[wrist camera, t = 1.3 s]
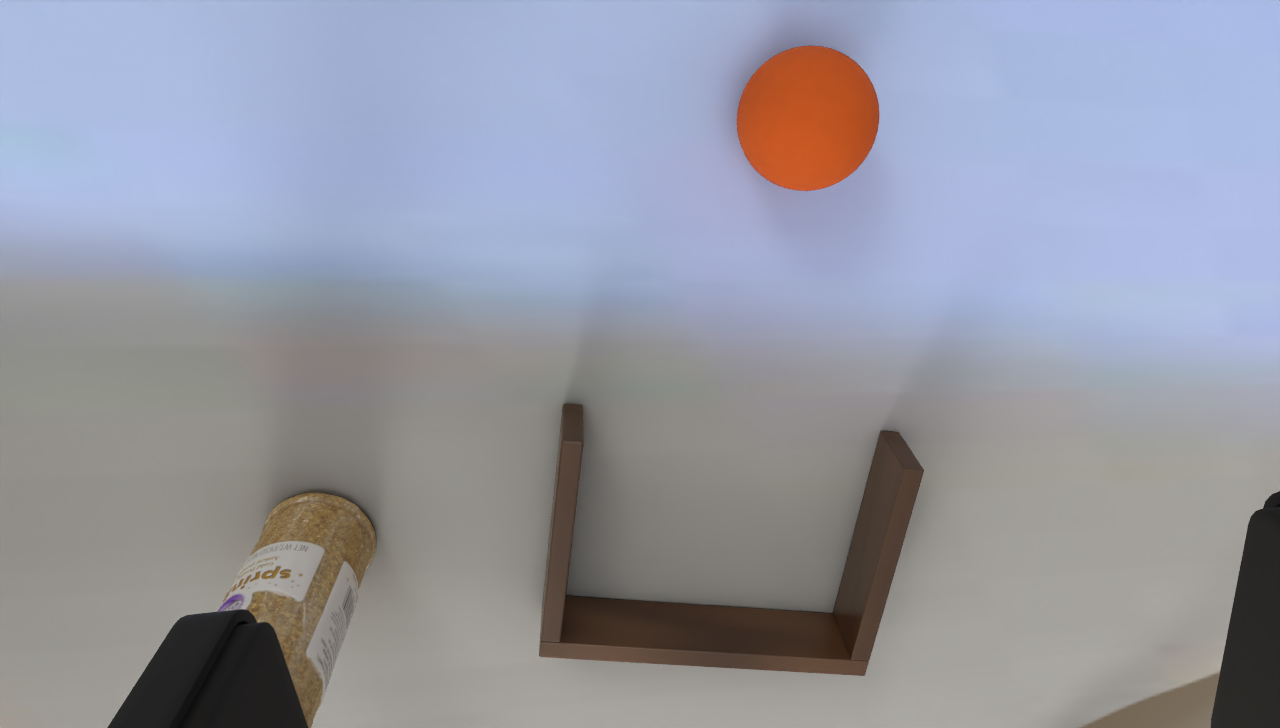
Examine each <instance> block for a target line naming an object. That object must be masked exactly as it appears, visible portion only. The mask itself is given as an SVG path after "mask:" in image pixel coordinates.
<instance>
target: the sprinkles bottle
mask: <svg viewBox="0 0 1280 728" xmlns="http://www.w3.org/2000/svg"><path fill="white" fill-rule="evenodd" d="M375 550H376V536H375V531H374V529H373V526H372V524H371V522H370V521H369V519H368V518H367V517H366V516H365V514H364V513H363V512H362V511H361V510H360V509H359V508H358V507H357V506H356V505H355V504H354V503H352V502H349V501H347V500H346V499H344V498H342V497H339V496H334V495H328V494H325V493H312V492H310V493H304V494H299V495H297V496H295V497H291V498H288V499H287V500H285V501H283V502H281V503H280V504H278V505H277V506H276V507H274V508H273V510H272V511H271V513H270V514H269V516H268V517H267V519H266V521H265V524H264V527H263V532H262V534H261V536H260V539H259V541H258V542H257V544H256V545H255V547H254V549H253V551H252V553H251V555H250V557H249V558H248V559H247V560H246V562H245V563H244V564H243V566H242V567H241V569H240V571H239V573H238V575H237V576H236V578H235V580H234V582H233V584H232V586H231V588H230V589H229V591H228V593H227V595H226V596H225V598H224V600H223V602H222V604H221V606H220V608H219V609H218V611H217V612H220V611H229V610H238V609H245V610H249V611H250V612H251V613H252V614H253V615H254V617H255V619H256V621H257V623H260V622H267V623H270V625H271V626H272V627H273V628H274V630H275V632H276V634H277V637H278V640H279V643H280V646H281V649H282V652H283V655H284V658H285V661H286V664H287V667H288V669H289V672H290V675H291V678H292V681H293V684H294V687H295V690H296V693H297V696H298V699H299V701H300V704H301V707H302V710H303V713H304V716H305V719H306V722H307V725H308V728H311V726H312V723H313V719H314V717H315V714H316V712H317V710H318V708H319V707H320V705H321V703H322V700H323V697H324V695H325V692H326V689H327V686H328V683H329V680H330V677H331V674H332V671H333V668H334V665H335V662H336V659H337V657H338V654H339V651H340V648H341V645H342V643H343V640H344V637H345V634H346V631H347V629H348V626H349V623H350V620H351V617H352V614H353V611H354V608H355V605H356V603H357V599H358V589H359V587H360V584H361V581H362V578H363V575H364V572H365V571H366V569H367V568H368V566H369V565H370V564H371V562H372V559H373V557H374V554H375Z"/></svg>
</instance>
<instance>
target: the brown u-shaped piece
mask: <svg viewBox="0 0 1280 728" xmlns="http://www.w3.org/2000/svg"><path fill="white" fill-rule="evenodd" d="M582 451H583V406H582V405H573V404H564V405H563V409H562V419H561V428H560V438H559V448H558V457H557V467H556V477H555V487H554V496H553V506H552V516H551V525H550V535H549V545H548V555H547V564H546V574H545V584H544V593H543V603H542V615H541V632H540V648H539V656H540V657H548V658H566V659H583V660H600V661H617V662H635V663H652V664H669V665H687V666H704V667H721V668H738V669H756V670H773V671H790V672H807V673H825V674H842V675H859V676H864V675H865V673H866V669H867V666H868V662H869V659H870V656H871V652H872V649H873V645H874V642H875V638H876V635H877V631H878V628H879V624H880V621H881V617H882V614H883V611H884V607H885V604H886V600H887V597H888V593H889V590H890V586H891V583H892V579H893V576H894V572H895V569H896V566H897V562H898V559H899V555H900V552H901V548H902V545H903V541H904V538H905V534H906V531H907V527H908V524H909V520H910V517H911V514H912V510H913V507H914V503H915V500H916V496H917V493H918V489H919V486H920V482H921V479H922V475H923V472H924V469H923V468H922V466H921V465H920V463H919V462H918V460H917V459H916V457H915V456H914V454H913V453H912V451H911V450H910V448H909V447H908V445H907V444H906V442H905V441H904V439H903V438H902V436H901V435H900V433H899V432H888V431H881V432H880V436H879V439H878V443H877V447H876V451H875V455H874V458H873V462H872V466H871V470H870V474H869V478H868V481H867V485H866V489H865V493H864V497H863V500H862V504H861V508H860V512H859V516H858V520H857V523H856V527H855V531H854V535H853V539H852V543H851V546H850V550H849V554H848V558H847V562H846V565H845V569H844V573H843V577H842V581H841V585H840V588H839V592H838V596H837V600H836V604H835V608H834V611H833V613H818V612H802V611H787V610H772V609H756V608H741V607H725V606H710V605H695V604H679V603H664V602H648V601H633V600H618V599H602V598H587V597H571V596H566V590H567V582H568V573H569V564H570V556H571V547H572V538H573V529H574V521H575V512H576V503H577V495H578V486H579V477H580V469H581V460H582Z"/></svg>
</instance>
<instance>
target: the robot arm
mask: <svg viewBox="0 0 1280 728" xmlns="http://www.w3.org/2000/svg"><path fill="white" fill-rule="evenodd" d="M108 728H308V725H307V722H306V719H305V716H304V713H303V710H302V707H301V704H300V701H299V699H298V696H297V693H296V690H295V687H294V684H293V681H292V678H291V675H290V672H289V669H288V667H287V664H286V661H285V658H284V655H283V652H282V649H281V646H280V643H279V640H278V637H277V634H276V632H275V630H274V628H273V627H272V626H271V625H270V623H267V622H260V623H257V621H256V619H255V617H254V615H253V614H252V613H251V612H250V611H249V610H245V609H238V610H229V611H220V612H211V613H202V614H194V615H187V616H184V617H182V618H180V619H179V620H178V621H177V622H176V623H175V625H174V626H173V627H172V629H171V630H170V632H169V633H168V635H167V636H166V638H165V640H164V641H163V643H162V644H161V646H160V647H159V649H158V650H157V652H156V653H155V655H154V657H153V658H152V660H151V661H150V663H149V664H148V666H147V667H146V669H145V670H144V672H143V674H142V675H141V677H140V678H139V680H138V681H137V683H136V684H135V686H134V687H133V689H132V691H131V692H130V694H129V695H128V697H127V698H126V700H125V701H124V703H123V705H122V706H121V708H120V709H119V711H118V712H117V714H116V715H115V717H114V718H113V720H112V722H111V723H110V725H109V726H108ZM1211 728H1280V491H1279V492H1277V493H1274V494H1272V495H1271V496H1270V497H1269V498H1268V499H1267V500H1266V502H1265V505H1264V507H1263V509H1261V510H1258V511H1256V512H1255V513H1254V514H1253V515H1252V516H1251V518H1250V521H1249V524H1248V529H1247V534H1246V540H1245V545H1244V550H1243V556H1242V561H1241V566H1240V571H1239V577H1238V582H1237V587H1236V592H1235V598H1234V603H1233V608H1232V613H1231V619H1230V624H1229V629H1228V634H1227V640H1226V645H1225V650H1224V655H1223V661H1222V666H1221V671H1220V677H1219V682H1218V687H1217V692H1216V698H1215V703H1214V708H1213V713H1212V719H1211Z"/></svg>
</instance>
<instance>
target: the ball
mask: <svg viewBox="0 0 1280 728" xmlns="http://www.w3.org/2000/svg"><path fill="white" fill-rule="evenodd" d="M878 124H879V104H878V99H877V95H876V92H875V89H874V87H873V85H872V83H871V81H870V79H869V77H868V76H867V74H866V73H865V72H864V70H863V69H862V68H861V67H860V66H859V65H858V64H857V63H856V62H855V61H853V60H852V59H851V58H849V57H848V56H846V55H845V54H843V53H841V52H839V51H836V50H834V49H831V48H826V47H821V46H801V47H796V48H792V49H789V50H786V51H783V52H781V53H779V54H777V55H775V56H774V57H772V58H771V59H769V60H768V61H767V62H765V63H764V64H763V65H762V66H761V67H760V68H759V69H758V70H757V71H756V72H755V73H754V74H753V76H752V77H751V79H750V80H749V82H748V83H747V85H746V87H745V89H744V91H743V94H742V96H741V99H740V102H739V107H738V113H737V131H738V137H739V141H740V144H741V147H742V149H743V151H744V154H745V156H746V157H747V159H748V161H749V162H750V164H751V165H752V166H753V167H754V168H755V170H756V171H757V172H759V173H760V174H761V175H762V176H763V177H765V178H766V179H767V180H769V181H770V182H772V183H774V184H776V185H778V186H781V187H784V188H787V189H793V190H800V191H810V190H818V189H822V188H826V187H829V186H831V185H834V184H836V183H838V182H840V181H842V180H843V179H845V178H846V177H848V176H849V175H850V174H851V173H853V172H854V171H855V170H856V169H857V168H858V167H859V166H860V165H861V164H862V162H863V161H864V160H865V158H866V157H867V155H868V153H869V152H870V150H871V148H872V146H873V143H874V141H875V138H876V134H877V131H878Z"/></svg>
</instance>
